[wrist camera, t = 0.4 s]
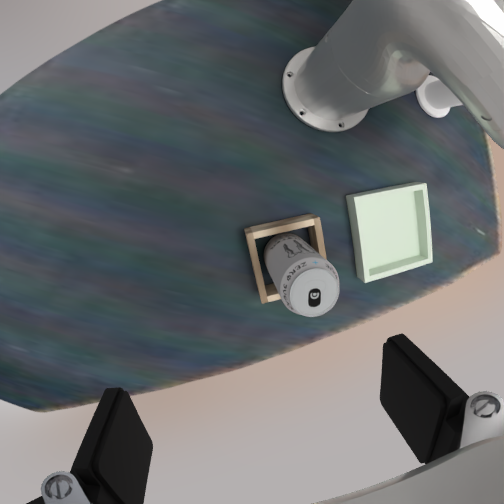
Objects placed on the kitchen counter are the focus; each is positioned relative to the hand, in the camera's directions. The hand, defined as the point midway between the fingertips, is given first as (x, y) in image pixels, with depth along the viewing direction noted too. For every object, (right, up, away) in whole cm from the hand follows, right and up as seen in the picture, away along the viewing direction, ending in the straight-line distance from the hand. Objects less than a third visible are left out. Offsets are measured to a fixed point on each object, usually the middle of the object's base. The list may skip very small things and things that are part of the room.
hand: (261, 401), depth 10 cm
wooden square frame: (+4, +5, +33) cm, 34 cm away
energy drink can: (+4, +5, +33) cm, 34 cm away
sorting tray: (+20, +9, +34) cm, 40 cm away
